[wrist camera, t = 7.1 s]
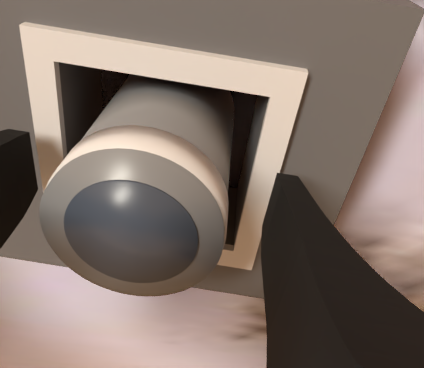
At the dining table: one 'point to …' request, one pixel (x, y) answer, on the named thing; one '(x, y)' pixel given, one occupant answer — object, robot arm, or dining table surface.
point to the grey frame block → (217, 78)
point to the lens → (145, 189)
